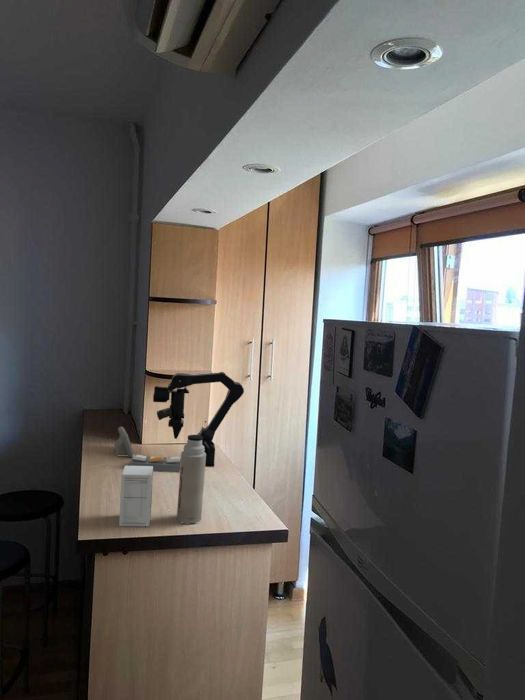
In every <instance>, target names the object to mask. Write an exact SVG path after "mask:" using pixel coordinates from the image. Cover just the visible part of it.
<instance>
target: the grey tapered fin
mask: <svg viewBox="0 0 525 700" xmlns="http://www.w3.org/2000/svg"><path fill="white" fill-rule="evenodd" d="M117 432H118V434H119V437H118V439H117V440H116V441H115V442H114V452H115V451H116V452H115V454H117V455H128V456H127V457H129V458H130V457H132V458H133V455H134V454H135V452H134V449H133V446H132V444H131V441H130V437H129V435H128V433H127V431H126V429H125V428H124V427H123V426H119V427H118V428H117ZM117 455H116V456H117Z"/></svg>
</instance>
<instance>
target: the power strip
mask: <svg viewBox="0 0 525 700" xmlns="http://www.w3.org/2000/svg"><path fill="white" fill-rule="evenodd" d="M145 456H146V455H145ZM150 457H151V456H146V460H145V461H142V460H136V459H132V458H131V461H130V466H153V472H164V473H177V474H180V466H181V457H180V461H178V462H167V457H166V456H165V457H164V456H163V460H159V461H152V462H150Z"/></svg>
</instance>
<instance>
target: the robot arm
mask: <svg viewBox="0 0 525 700" xmlns="http://www.w3.org/2000/svg"><path fill="white" fill-rule="evenodd" d="M212 383H221V384H223V386H224V387H225V388H226V389H227V392H226V395H225V399H224V400H223V402H222V403H221V404H220V407H219V408H218V410H217V411H216V412H215V414H214V415H213V417H212V418H211V420H210V422H209V423H208V425H207V426H206V427H203V426H201V428H200V431H199V432H198V433H197V434H196V435H200V436H202V437H203V439H202V445H203V446H204V449H205V451H204V452H205V453H206V462H205V467H211V468H212V467H215V457H216V446H215V443H214V442H213V439H214V438H215V437H214V436H215V434H216V431H217V430H218V428H219V426H220V425H221V423H222V422H223V420H224V418H226V415H227V414H228V413H229V411H230V409H231V408H232V407H233V405H234V404H235V403H237V401H238V400H239V399H240V398H242V396H243V395H244V393H245V389H244V387H243V385H242V384H241V383H240V382H238V381H235V380H233V379H232V378H231V377H229V375H227V374H226V373H225V372H224V371H220V372H211V373H210V372H209V373H201V374H200V373H199V374H190V373H183V372H182V373H181V372H179V373H178V372H176V373H174V374H173V376H172V377H171V382H170V383H168V385H167V386H158V385H154V391H153V397H152V402H153V403H167V402H168V401H170V404H169V407H167V408H163V409H160V410H157V411H156V415H157V419H158V420H159V421H162V420H163V419H166V418H169V420H168V425H167V426H168V427H169V428H172V432H173V439H175V440H177V439H178V437H179V435H180V433H181V430H182V428H183V427H184V419H185V413H184V412H185V410H184V409H185V395H186V394H189V393H190V390H189V389H188V388H187V387H189V386H192V385H198V384H199V385H200V384H212Z"/></svg>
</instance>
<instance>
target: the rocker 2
mask: <svg viewBox="0 0 525 700" xmlns="http://www.w3.org/2000/svg"><path fill="white" fill-rule="evenodd" d="M166 458H167V462H178V461H180V458H181V455H180V456H167V457H166Z"/></svg>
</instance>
